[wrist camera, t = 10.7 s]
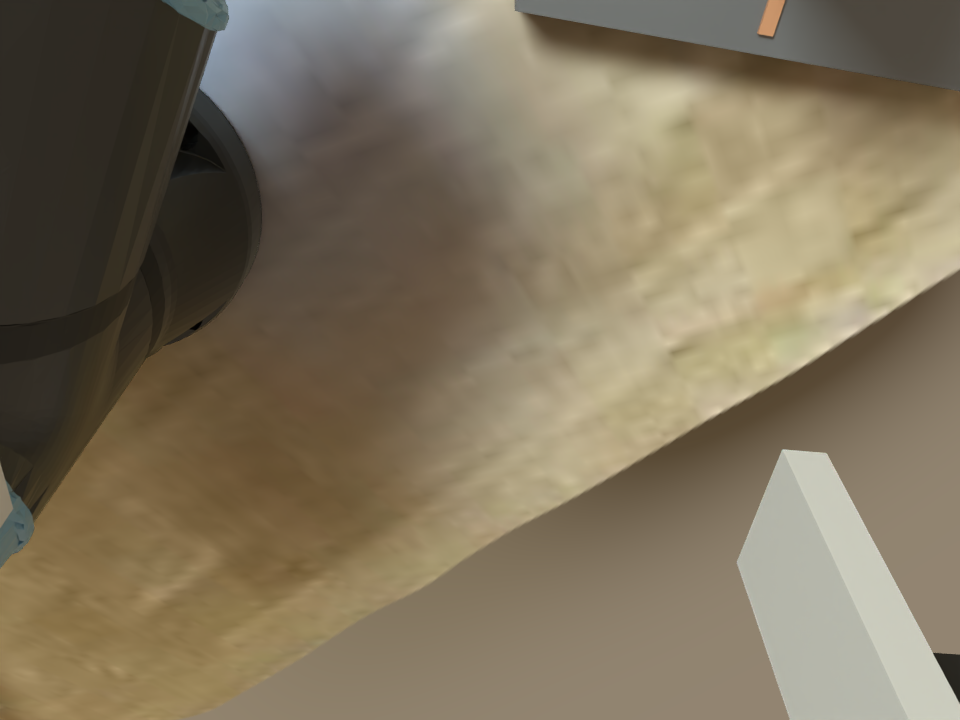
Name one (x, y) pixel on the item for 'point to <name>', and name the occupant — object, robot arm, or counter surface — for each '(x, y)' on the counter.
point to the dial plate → (795, 30)
